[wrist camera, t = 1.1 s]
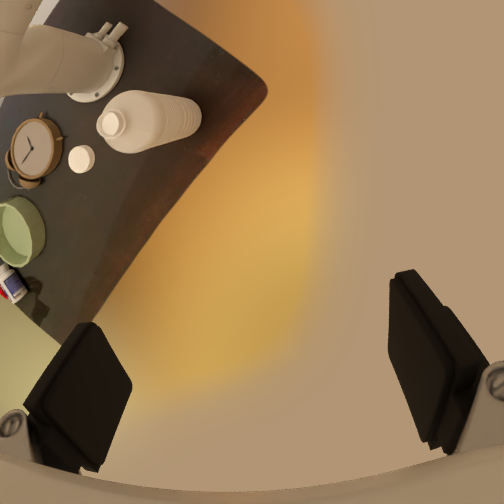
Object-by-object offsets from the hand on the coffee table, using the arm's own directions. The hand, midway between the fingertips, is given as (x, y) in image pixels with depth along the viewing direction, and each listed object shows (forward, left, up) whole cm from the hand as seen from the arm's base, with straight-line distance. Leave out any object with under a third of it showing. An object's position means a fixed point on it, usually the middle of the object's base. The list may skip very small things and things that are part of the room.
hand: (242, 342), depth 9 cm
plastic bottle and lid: (+5, -14, -43) cm, 45 cm away
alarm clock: (+27, -33, -43) cm, 60 cm away
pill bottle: (+59, -21, -40) cm, 74 cm away
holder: (+43, -29, -42) cm, 67 cm away
